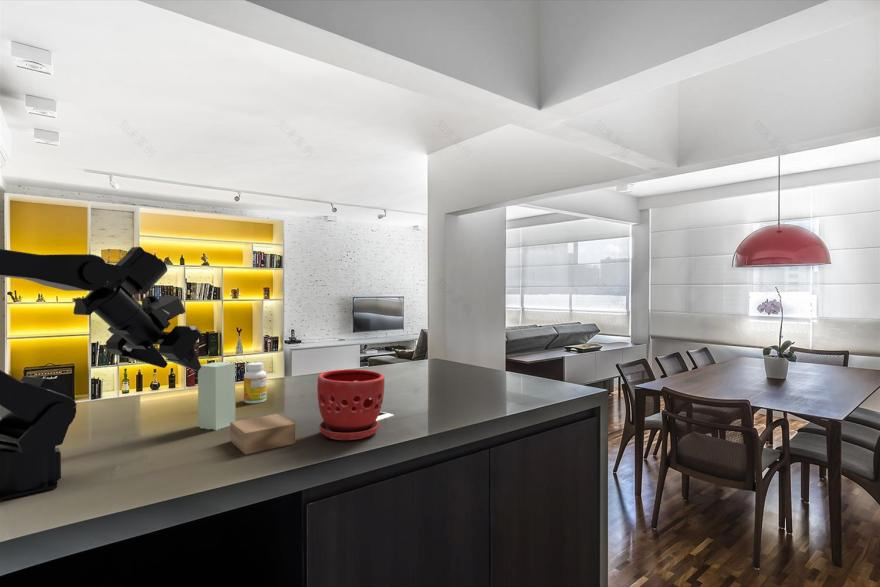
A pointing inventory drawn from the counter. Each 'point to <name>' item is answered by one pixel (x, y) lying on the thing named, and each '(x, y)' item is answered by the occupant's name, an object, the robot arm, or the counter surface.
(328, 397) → the plant pot
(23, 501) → the counter surface
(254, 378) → the supplement bottle
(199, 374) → the sage block
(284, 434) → the tan block
